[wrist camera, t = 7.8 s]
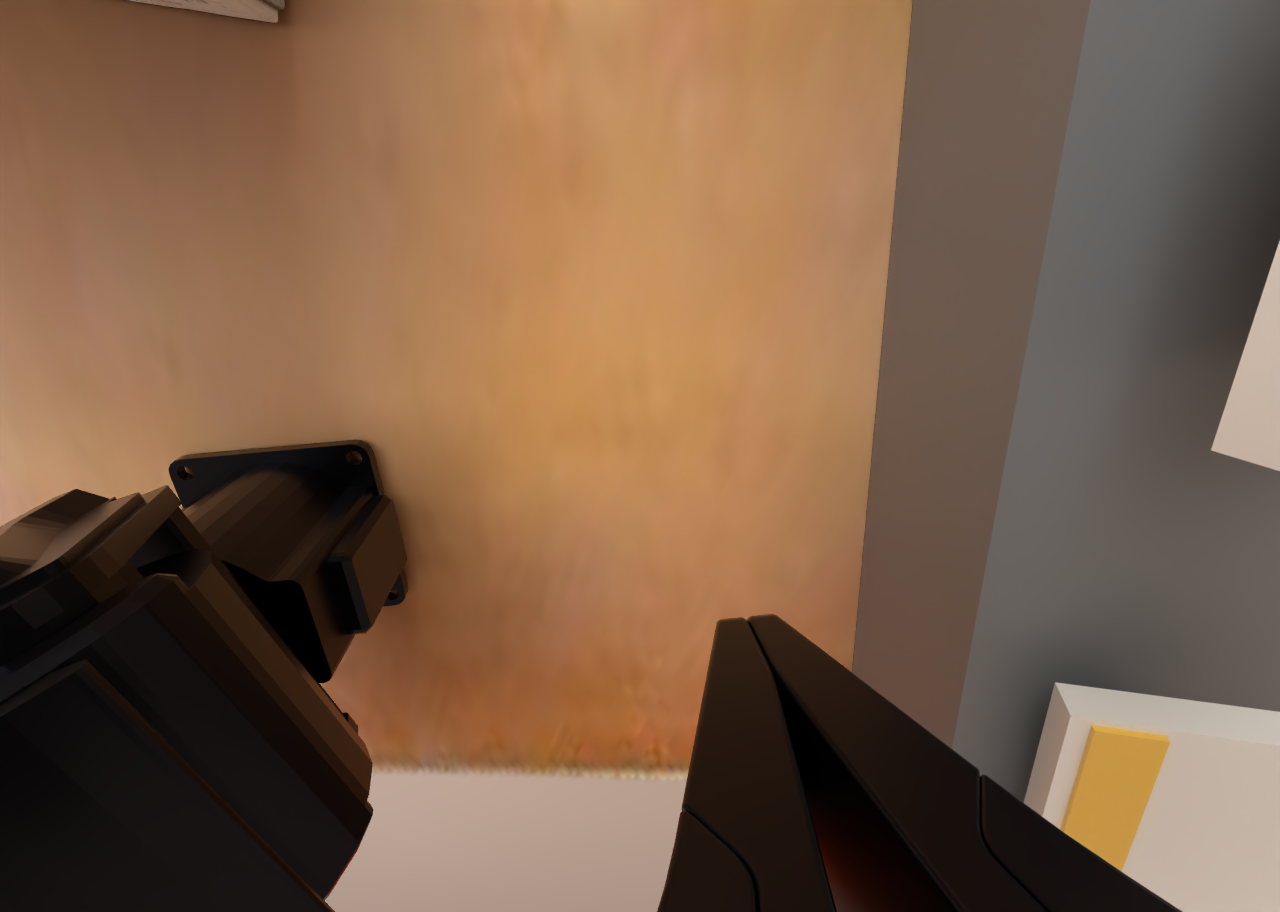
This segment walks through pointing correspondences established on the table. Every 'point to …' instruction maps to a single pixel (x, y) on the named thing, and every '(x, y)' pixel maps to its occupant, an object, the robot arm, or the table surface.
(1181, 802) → the rocker amber
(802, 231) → the table surface
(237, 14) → the hard drive box
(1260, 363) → the rocker grey
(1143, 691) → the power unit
